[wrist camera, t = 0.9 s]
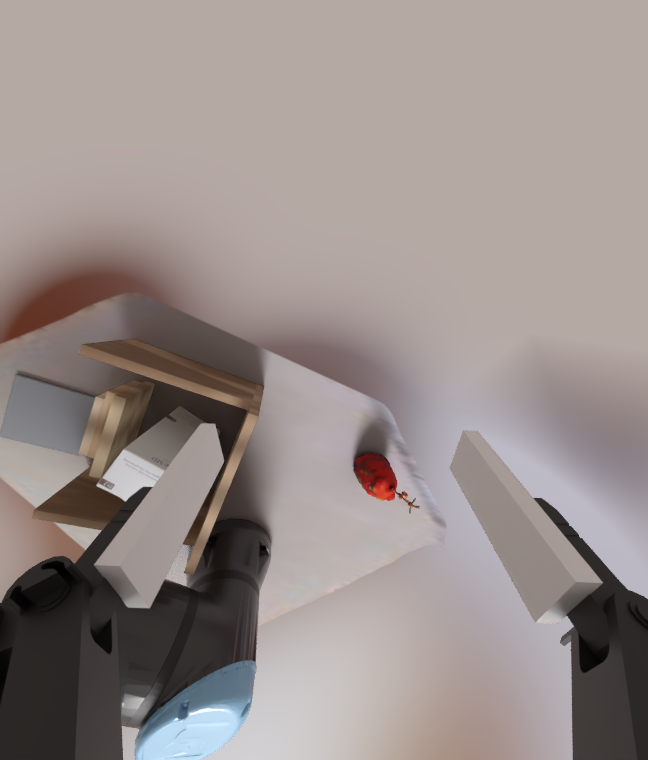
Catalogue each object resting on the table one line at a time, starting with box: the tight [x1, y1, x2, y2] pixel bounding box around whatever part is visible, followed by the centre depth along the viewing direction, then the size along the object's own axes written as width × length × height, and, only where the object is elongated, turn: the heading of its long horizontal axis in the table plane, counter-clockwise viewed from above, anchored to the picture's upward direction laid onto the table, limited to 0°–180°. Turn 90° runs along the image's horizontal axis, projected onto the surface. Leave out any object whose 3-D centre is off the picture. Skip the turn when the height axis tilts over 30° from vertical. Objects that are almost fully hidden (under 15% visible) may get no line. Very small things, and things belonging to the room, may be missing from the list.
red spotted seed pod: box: [353, 453, 420, 513], centre depth 43 cm, size 8×7×15 cm
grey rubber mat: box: [0, 374, 95, 455], centre depth 37 cm, size 10×10×1 cm
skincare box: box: [96, 406, 220, 502], centre depth 34 cm, size 8×6×15 cm
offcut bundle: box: [78, 380, 155, 479], centre depth 35 cm, size 12×5×8 cm, turn 156°
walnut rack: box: [32, 339, 264, 574], centre depth 34 cm, size 23×21×14 cm
